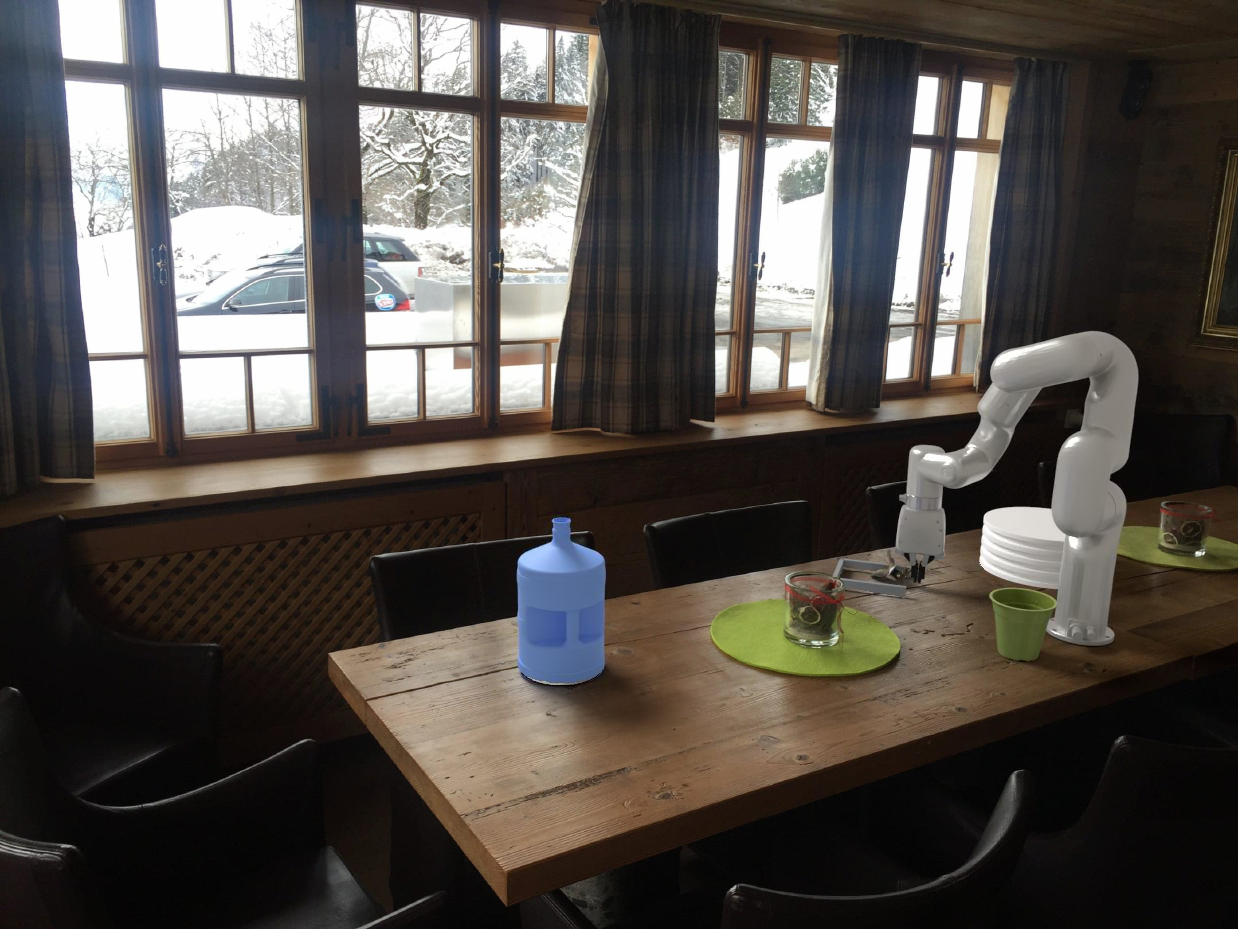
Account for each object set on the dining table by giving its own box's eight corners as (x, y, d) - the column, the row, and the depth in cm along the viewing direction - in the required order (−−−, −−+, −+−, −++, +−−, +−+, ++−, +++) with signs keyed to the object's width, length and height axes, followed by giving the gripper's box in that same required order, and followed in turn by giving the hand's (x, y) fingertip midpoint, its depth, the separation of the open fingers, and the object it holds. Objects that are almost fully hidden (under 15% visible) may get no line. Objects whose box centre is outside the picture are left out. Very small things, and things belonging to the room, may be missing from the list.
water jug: (508, 657, 185) (506, 512, 179) (588, 646, 191) (589, 504, 184) (531, 694, 171) (530, 537, 164) (617, 680, 176) (619, 528, 170)
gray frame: (905, 598, 217) (906, 587, 217) (830, 589, 223) (831, 578, 222) (909, 576, 231) (910, 566, 231) (839, 568, 236) (840, 558, 236)
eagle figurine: (919, 577, 227) (890, 559, 234) (912, 557, 223) (884, 539, 230) (895, 598, 226) (867, 579, 233) (888, 578, 221) (860, 559, 228)
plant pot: (990, 637, 198) (996, 583, 195) (1055, 650, 192) (1062, 595, 189) (977, 658, 188) (983, 601, 185) (1045, 673, 182) (1052, 615, 179)
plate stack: (964, 549, 252) (969, 505, 250) (1077, 552, 251) (1083, 508, 249) (1001, 588, 225) (1006, 539, 222) (1127, 592, 224) (1134, 543, 221)
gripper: (886, 503, 218) (881, 582, 222) (959, 509, 213) (952, 591, 217) (889, 494, 225) (884, 572, 229) (959, 501, 220) (952, 580, 224)
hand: (917, 581), depth 223 cm, fingers closed
